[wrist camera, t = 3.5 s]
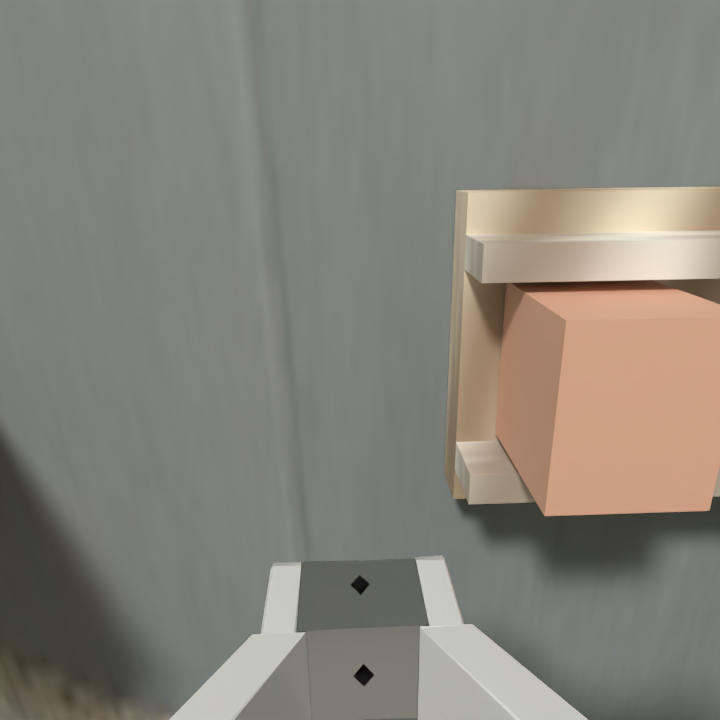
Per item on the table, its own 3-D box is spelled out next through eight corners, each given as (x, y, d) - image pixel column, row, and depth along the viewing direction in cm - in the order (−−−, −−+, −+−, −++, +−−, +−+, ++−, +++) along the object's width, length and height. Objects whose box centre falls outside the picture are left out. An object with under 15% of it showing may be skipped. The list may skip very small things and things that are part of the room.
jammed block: (645, 277, 20) (753, 316, 15) (621, 429, 22) (709, 510, 17) (506, 280, 20) (566, 320, 15) (495, 432, 22) (544, 515, 17)
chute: (924, 183, 21) (1071, 187, 17) (840, 461, 25) (941, 521, 21) (456, 190, 21) (486, 196, 16) (444, 473, 25) (466, 537, 20)
